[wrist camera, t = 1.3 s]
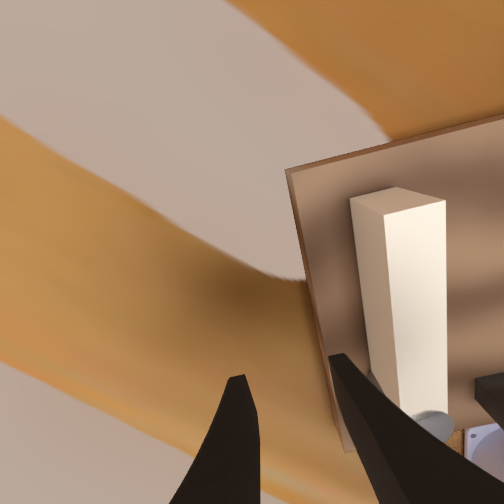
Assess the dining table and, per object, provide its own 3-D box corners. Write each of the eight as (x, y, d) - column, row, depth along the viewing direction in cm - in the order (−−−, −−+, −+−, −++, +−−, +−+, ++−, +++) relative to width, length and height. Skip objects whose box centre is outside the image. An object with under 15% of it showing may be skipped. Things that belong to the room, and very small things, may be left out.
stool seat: (597, 370, 24) (706, 439, 18) (335, 424, 25) (362, 504, 19) (664, 72, 16) (885, 33, 11) (284, 169, 18) (304, 180, 12)
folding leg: (415, 390, 20) (454, 445, 17) (369, 399, 20) (398, 456, 17) (402, 185, 15) (454, 198, 12) (342, 199, 15) (375, 217, 12)
